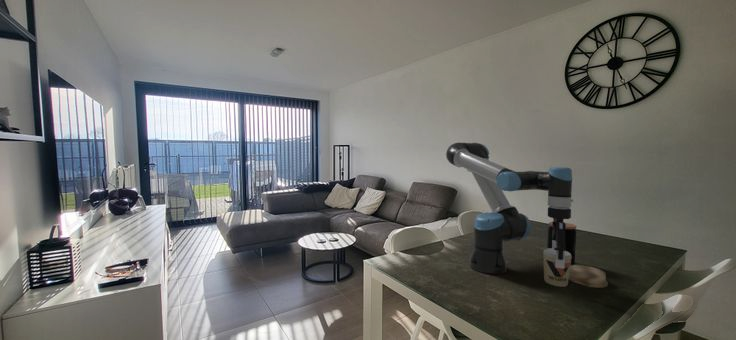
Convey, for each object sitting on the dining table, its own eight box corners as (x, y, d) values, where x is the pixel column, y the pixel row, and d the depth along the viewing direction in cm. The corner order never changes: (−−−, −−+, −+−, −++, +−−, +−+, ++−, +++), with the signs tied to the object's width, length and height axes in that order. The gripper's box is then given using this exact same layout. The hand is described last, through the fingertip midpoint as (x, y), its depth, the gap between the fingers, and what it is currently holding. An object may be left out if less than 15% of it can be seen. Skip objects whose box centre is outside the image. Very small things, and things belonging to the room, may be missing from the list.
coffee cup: (544, 285, 110) (545, 254, 110) (539, 275, 119) (541, 246, 118) (573, 289, 107) (574, 257, 106) (566, 279, 116) (568, 249, 115)
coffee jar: (579, 268, 127) (581, 227, 126) (552, 266, 129) (554, 226, 128) (567, 259, 137) (569, 222, 136) (543, 258, 140) (544, 221, 139)
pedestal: (569, 283, 112) (569, 272, 112) (564, 271, 124) (565, 262, 124) (612, 290, 106) (612, 280, 106) (603, 277, 118) (603, 267, 117)
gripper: (576, 213, 99) (574, 275, 99) (566, 203, 121) (565, 254, 121) (550, 211, 102) (549, 271, 103) (545, 202, 124) (544, 251, 125)
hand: (557, 262), depth 112 cm, fingers open, 13 cm apart
